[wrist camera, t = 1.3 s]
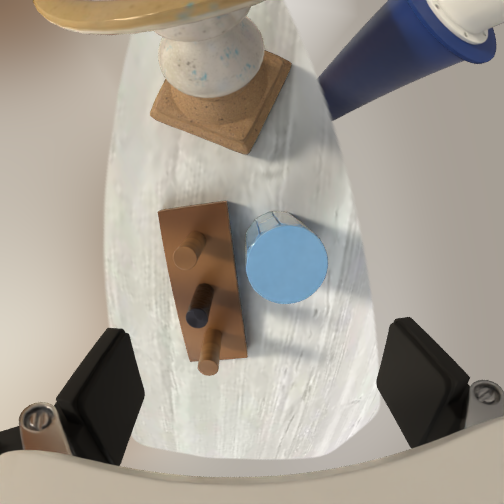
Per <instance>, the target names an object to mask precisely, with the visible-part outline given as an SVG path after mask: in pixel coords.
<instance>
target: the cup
mask: <svg viewBox="0 0 504 504" xmlns="http://www.w3.org/2000/svg"><path fill="white" fill-rule="evenodd" d="M256 219H257V220H254V221H253V223H252V224H251V226H250V227H249V229H248V230H247V234H246V240H245V264H246V274H247V276H248V279H249V281H250V284H251V285H252V287H253V289H254V290H255V291H256V292H257V293H258V294H259V295H260V296H262V297H263V298H265V299H267V300H269V301H271V302H274V303H279V304H291V303H296V302H299V301H302V300H304V299H306V298H308V297H309V296H311V295H312V294H313V293H314V292H315V291H317V289H318V288H319V287H320V286H321V284H322V283H323V281H324V279H325V276H326V273H327V268H328V257H327V252H326V249H325V247H324V245H323V243H322V242H321V240H320V238H319V237H318V236H317V235H316V234H315V233H314V232H313V231H312V230H310V229H309V228H308V227H307V226H306V225H305V224H304V223H302V222H301V221H300V220H299V219H297V218H296V217H294V216H293V215H291V214H290V213H287V212H278V211H272V213H271V212H268V213H266V214H264V215H262V216H260V217H258V218H256Z"/></svg>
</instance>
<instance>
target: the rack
mask: <svg viewBox="0 0 504 504" xmlns="http://www.w3.org/2000/svg"><path fill="white" fill-rule="evenodd" d="M158 217H159V223H160V229H161V235H162V240H163V246H164V251H165V257H166V262H167V267H168V272H169V277H170V282H171V286H172V291H173V295H174V300H175V304H176V309H177V313H178V317H179V321H180V325H181V330H182V334H183V337H184V341H185V345H186V349H187V353H188V356H189V360H190V362H193V361H199V362H198V370H199V371H200V372H201V373H202V374H204V375H208V376H210V375H214V374H216V373H217V372H218V369H219V360H224V359H236V358H247V357H248V355H247V345H246V338H245V331H244V324H243V317H242V310H241V303H240V296H239V288H238V281H237V274H236V266H235V259H234V251H233V243H232V236H231V228H230V220H229V212H228V204H227V201H220V202H212V203H204V204H197V205H190V206H183V207H176V208H169V209H163V210H160V211H158Z"/></svg>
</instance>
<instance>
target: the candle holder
mask: <svg viewBox="0 0 504 504" xmlns="http://www.w3.org/2000/svg"><path fill="white" fill-rule="evenodd" d="M263 1H265V0H33V3H34V4H35V7H36V8H37V10H38V12H40V14H41V15H43V16H44V17H45V18H46V19H47V20H48V21H49V22H51V23H53V24H55V25H57V26H59V27H62V28H64V29H66V30H70V31H75V32H80V33H85V34H98V35H99V34H100V35H117V34H134V33H141V32H148V31H154V32H156V33H157V34H158V35H160V36H162V39H161V42H160V45H159V53H158V58H159V65H160V68H161V71H162V73H163V75H164V77H165V78H166V79H165V81H164V83H163V85H162V87H161V89H160V91H159V93H158V95H157V97H156V99H155V102H154V104H153V107H152V109H151V112H150V116H151V117H152V118H154V119H155V120H157V121H160V122H162V123H164V124H167V125H169V126H172V127H175V128H178V129H180V130H183V131H186V132H188V133H191V134H193V135H196V136H199V137H201V138H204V139H206V140H209V141H211V142H214V143H216V144H219V145H221V146H223V147H226V148H228V149H231V150H233V151H236V152H239V153H241V154H248V153H249V152H250V151H251V149H252V147H253V145H254V143H255V141H256V139H257V137H258V135H259V133H260V131H261V129H262V127H263V125H264V122H265V120H266V118H267V116H268V114H269V112H270V110H271V108H272V106H273V104H274V102H275V100H276V98H277V96H278V94H279V92H280V90H281V88H282V86H283V84H284V82H285V80H286V77H287V75H288V73H289V71H290V68H291V64H292V63H290V62H289V61H287V60H285V59H283V58H281V57H279V56H277V55H275V54H273V53H270V52H268V51H265V50H264V42H263V38H262V35H261V32H260V31H259V29H258V28H257V26H256V25H255V23H254V22H253V21H252V20H251V19H250V18H248V17H247V16H246V15H247V14H248V12H249V10H250V7H251V6H253V5H256V4H258V3H261V2H263Z"/></svg>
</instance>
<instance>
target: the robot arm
mask: <svg viewBox="0 0 504 504" xmlns="http://www.w3.org/2000/svg"><path fill="white" fill-rule="evenodd" d="M426 1H427V3H428V5H429V7H430V8H431V10H432V11H433V13H434V14H435V15H436V17H437V18H438V19H439V20H440V21H441V22H442V24H443V25H444V26H445V27H446V28H448V29H449V30H450V31H451V32H452V33H453V34H454V35H456V36H457V37H459V38H460V39H461V40H463V41H465V42H467V43H470V44H474V45H478V44H481V43H483V42H485V41H486V40H487V37H488V29H490V28H492V27H495V26H497V25H500V24H502V23H504V0H426ZM469 379H470V377H469V376H468V375H467V374H466V373H465V372H464V370H463V369H462V368H461V367H460V366H458V364H457V363H456V362H455V361H454V360H453V359H452V358H451V357H450V356H449V355H448V354H447V353H446V352H445V351H444V350H443V349H442V348H441V347H440V346H439V345H438V344H437V343H436V342H435V341H434V340H433V339H432V338H431V337H430V336H429V335H428V334H427V333H426V332H425V331H424V330H423V329H422V328H421V327H420V326H419V325H418V324H417V323H416V322H415V321H414V320H413V319H412V318H410V317H405V318H398V319H395V320H394V323H392V324H391V325H390V327H389V332H388V336H387V341H386V345H385V349H384V353H383V357H382V361H381V365H380V369H379V373H378V376H377V381H376V383H377V388H378V390H379V392H380V393H381V395H382V397H383V399H384V400H385V402H386V403H387V406H388V407H389V409H390V411H391V413H392V415H393V416H394V418H395V420H396V422H397V424H398V425H399V427H400V429H401V431H402V433H403V435H404V436H405V438H406V440H407V442H408V444H409V446H410V447H411V448H412V449H409V450H406V451H403V452H400V453H397V454H394V455H390V456H386V457H383V458H379V459H375V460H371V461H367V462H363V463H358V464H354V465H349V466H344V467H339V468H334V469H328V470H321V471H315V472H307V473H299V474H291V475H280V476H265V477H201V476H186V475H174V474H165V473H158V472H151V471H144V470H137V469H132V468H126V467H121V466H120V464H121V461H122V458H123V456H124V453H125V450H126V447H127V444H128V441H129V438H130V436H131V433H132V430H133V427H134V425H135V422H136V419H137V416H138V414H139V411H140V408H141V406H142V403H143V400H144V396H145V392H144V387H143V384H142V381H141V377H140V374H139V370H138V367H137V363H136V359H135V355H134V351H133V348H132V343H131V339H130V336H129V334H128V333H125V331H124V330H123V329H118V328H107V329H106V331H105V332H104V333H103V335H102V336H101V337H100V338H99V340H98V341H97V342H96V344H95V345H94V346H93V348H92V349H91V350H90V352H89V353H88V354H87V356H86V357H85V359H84V360H83V361H82V363H81V364H80V365H79V367H78V368H77V369H76V371H75V372H74V373H73V375H72V376H71V378H70V379H69V380H68V382H67V383H66V385H65V386H64V388H63V389H62V391H61V392H60V394H59V395H58V396H57V398H56V401H57V402H56V404H55V405H54V406H53V405H51V404H49V403H45V402H39V403H34V404H31V405H29V406H28V407H26V408H25V409H24V410H23V411H22V413H21V415H20V417H19V426H17V427H14V428H11V429H8V430H4V431H1V432H0V504H504V391H503V390H502V388H501V387H500V386H499V385H498V384H496V383H494V382H492V381H489V380H478V381H476V382H474V383H473V384H472V385H471V386H469V385H468V381H469Z"/></svg>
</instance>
